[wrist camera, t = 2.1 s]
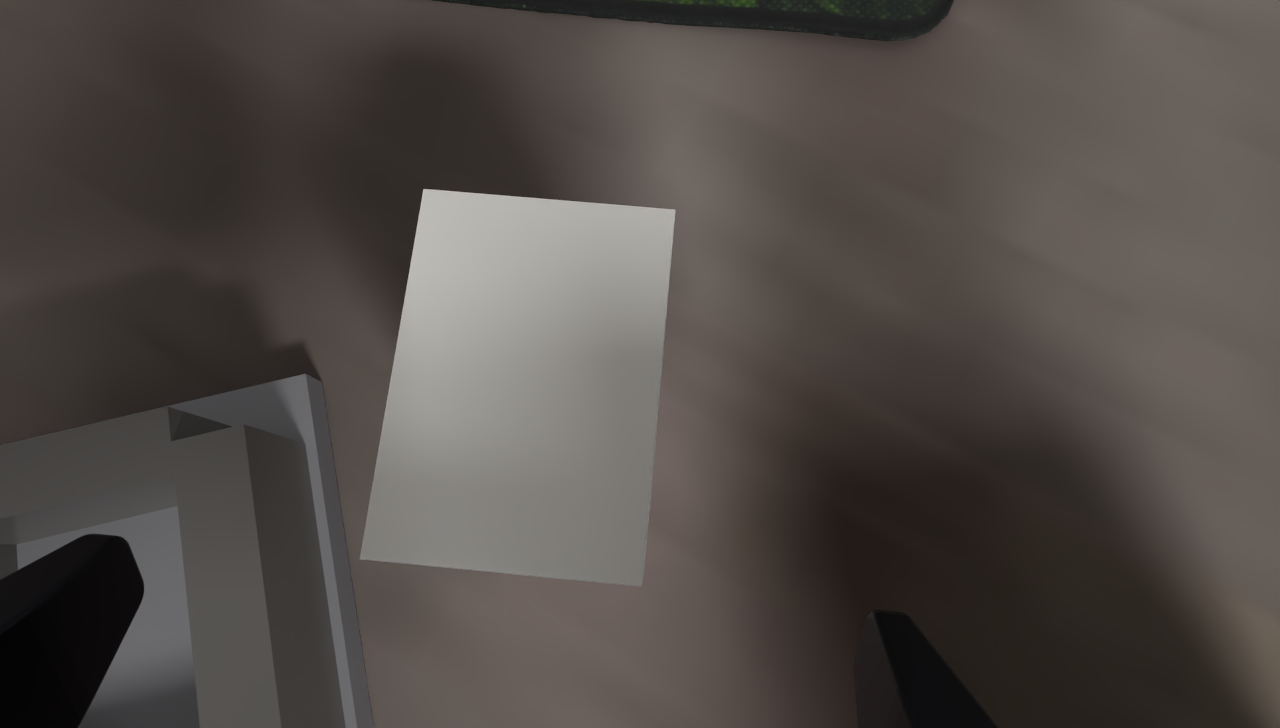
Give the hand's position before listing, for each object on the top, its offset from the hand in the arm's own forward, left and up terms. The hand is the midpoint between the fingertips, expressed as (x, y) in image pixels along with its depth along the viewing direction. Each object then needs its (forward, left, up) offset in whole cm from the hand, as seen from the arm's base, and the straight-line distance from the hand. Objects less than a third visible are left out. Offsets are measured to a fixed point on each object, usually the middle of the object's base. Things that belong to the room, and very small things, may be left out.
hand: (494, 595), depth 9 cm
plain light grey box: (+3, +1, -10) cm, 11 cm away
